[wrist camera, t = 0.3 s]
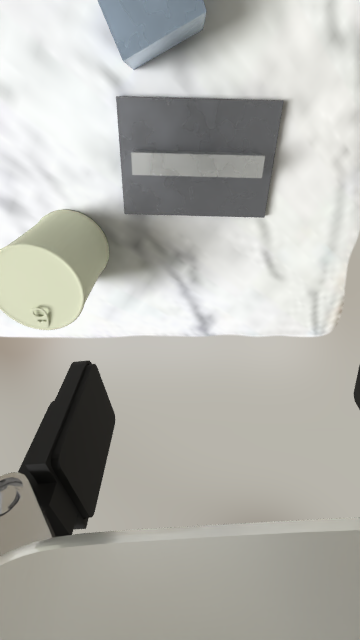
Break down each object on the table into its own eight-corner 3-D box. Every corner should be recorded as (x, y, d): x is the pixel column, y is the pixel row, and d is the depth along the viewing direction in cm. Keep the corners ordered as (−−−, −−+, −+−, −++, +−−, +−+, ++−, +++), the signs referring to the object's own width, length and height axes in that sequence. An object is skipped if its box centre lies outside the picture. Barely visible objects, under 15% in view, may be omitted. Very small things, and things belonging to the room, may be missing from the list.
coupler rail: (117, 96, 31) (111, 95, 28) (281, 101, 31) (290, 99, 28) (125, 212, 37) (121, 219, 34) (262, 215, 37) (268, 223, 34)
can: (44, 280, 42) (-1, 333, 32) (25, 209, 37) (-34, 245, 27) (113, 281, 42) (90, 334, 32) (104, 209, 37) (73, 245, 27)
